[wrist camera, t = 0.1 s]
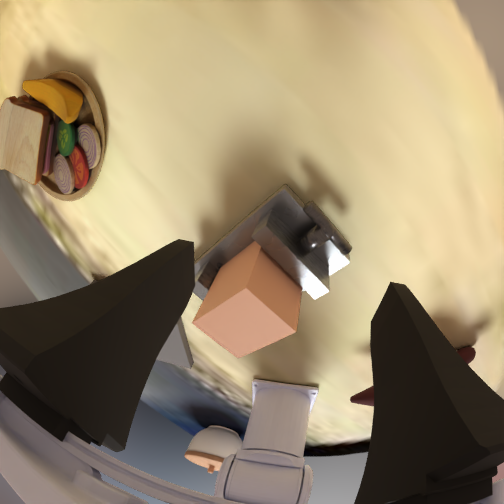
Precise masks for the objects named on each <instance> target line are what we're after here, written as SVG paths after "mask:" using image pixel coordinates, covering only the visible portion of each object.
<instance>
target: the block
mask: <svg viewBox="0 0 504 504" xmlns="http://www.w3.org/2000/svg"><path fill="white" fill-rule="evenodd" d="M301 295H302V286H301V285H300V284H299V283H298V282H297V281H296V280H295V279H293V278H292V277H291V276H290V275H289V274H288V273H287V272H286V271H285V270H284V269H283V268H282V267H281V266H280V265H279V264H278V263H277V262H276V261H275V260H274V259H273V258H272V257H271V256H270V255H269V254H268V253H267V252H266V251H265V250H264V249H263V248H262V247H261V246H260V245H259V244H258V243H257V242H256V241H254V242H253V243H251V244H250V245H249V246H247V247H246V248H245V249H244V250H242V251H241V252H240V253H239V254H237V255H236V256H235V257H233V258H232V259H231V260H230V261H228V262H227V263H226V264H225V265H223V266H222V267H221V268H220V270H219V272H218V274H217V275H216V277H215V279H214V281H213V283H212V285H211V287H210V289H209V291H208V293H207V295H206V297H205V299H204V300H203V302H202V304H201V306H200V308H199V310H198V312H197V314H196V316H195V318H194V320H193V322H192V323H193V324H194V325H195V326H196V327H198V328H199V329H200V330H201V331H203V332H204V333H205V334H207V335H208V336H209V337H210V338H212V339H213V340H214V341H216V342H217V343H218V344H220V345H221V346H222V347H224V348H225V349H226V350H228V351H229V352H230V353H232V354H233V355H234V356H236V357H237V358H240V357H242V356H245V355H247V354H249V353H252V352H254V351H256V350H259V349H261V348H263V347H265V346H268V345H270V344H272V343H274V342H276V341H279V340H281V339H283V338H285V337H287V336H289V335H291V334H294V333H296V331H297V324H298V317H299V310H300V302H301Z"/></svg>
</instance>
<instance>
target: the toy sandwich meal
mask: <svg viewBox="0 0 504 504" xmlns="http://www.w3.org/2000/svg"><path fill="white" fill-rule="evenodd" d="M22 88H23V89H24V90H25V91H26V92H27V93H29V94H30V97H29V98H28V97H27V96H26V95H24V96H21V97H18V98H16V97H15V96H12V97H9V98H6V99H5V100H4V102H3V104H2V106H1V109H0V169H1V170H3V169H6V170H8V171H10V172H11V173H13V174H15V175H17V176H18V177H20V178H22V179H23V180H25V181H27V182H29V183H31V184H33V185H36V184H37V183H39V185H40V186H41V187H42V188H43V189H44V190H45V191H46V192H47V193H48V194H50V195H51V196H53V197H55V198H57V199H59V200H63V201H75V200H78V199H80V198H82V197H84V196H85V195H86V194H87V193H88V192H89V191H90V190H91V189H92V187H93V186H94V184H95V182H96V181H97V179H98V176H99V174H100V171H101V167H102V163H103V158H104V149H105V133H104V124H103V118H102V114H101V110H100V107H99V104H98V102H97V99H96V97H95V95H94V93H93V92H92V90H91V88H90V87H89V86H88V84H87V83H86V82H85V81H84V80H83V79H82V78H80V77H79V76H78V75H76V74H74V73H71V72H67V71H58V72H54V73H52V74H49V75H48V76H46V77H45V78H43V79H37V80H26V81H24V82H23V85H22Z"/></svg>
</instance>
